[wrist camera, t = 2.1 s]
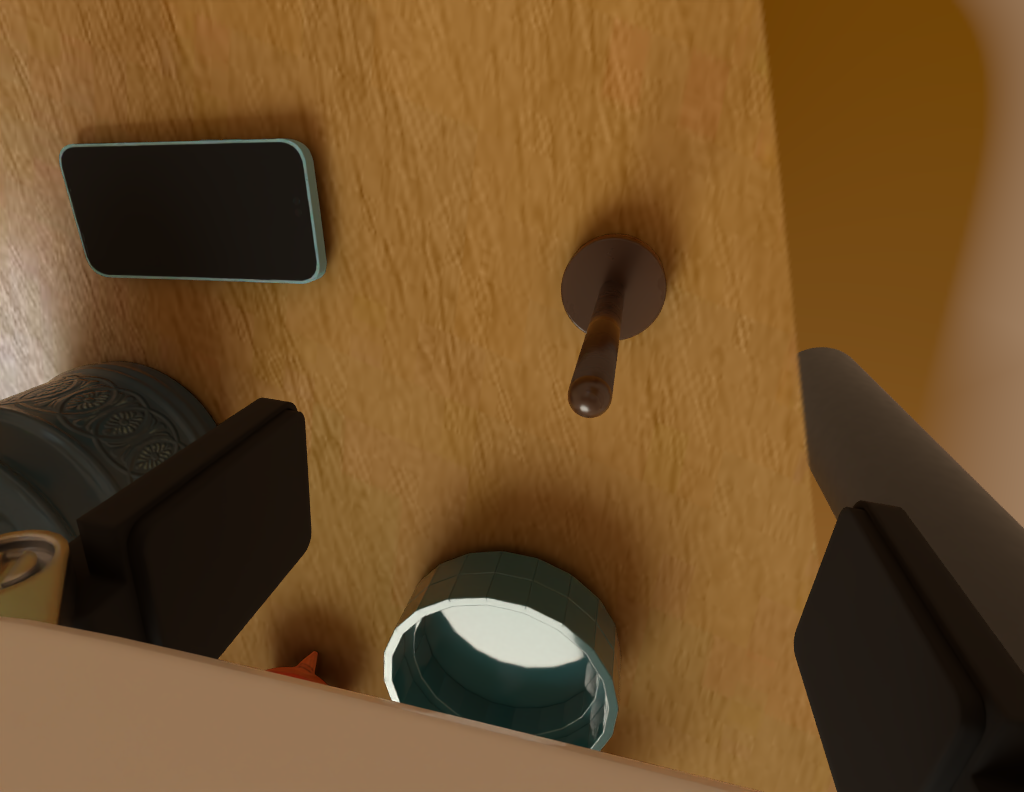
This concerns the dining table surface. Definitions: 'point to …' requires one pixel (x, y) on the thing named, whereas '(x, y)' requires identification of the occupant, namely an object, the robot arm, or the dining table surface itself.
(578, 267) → the disc-topped wooden rod
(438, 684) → the bowl
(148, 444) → the canister
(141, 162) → the smartphone
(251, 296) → the dining table surface
